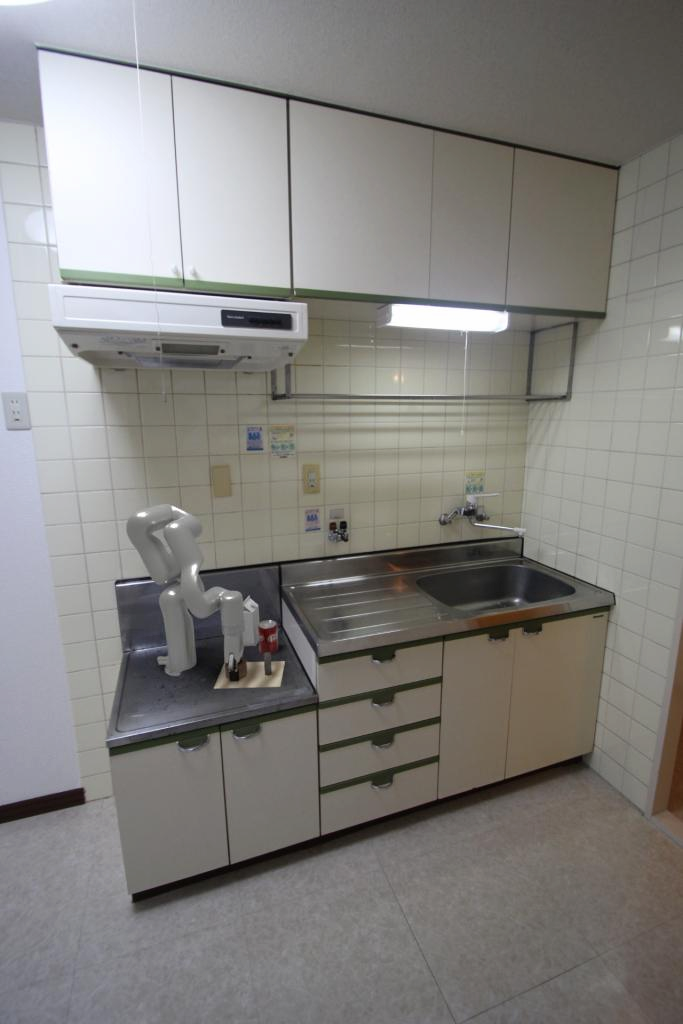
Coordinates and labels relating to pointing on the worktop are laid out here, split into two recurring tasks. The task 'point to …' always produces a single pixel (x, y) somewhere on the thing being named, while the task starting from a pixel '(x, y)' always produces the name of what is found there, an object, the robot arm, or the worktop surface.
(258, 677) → the board
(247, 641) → the milk carton
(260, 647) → the soda can
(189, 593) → the robot arm
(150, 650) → the worktop surface
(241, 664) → the bead
